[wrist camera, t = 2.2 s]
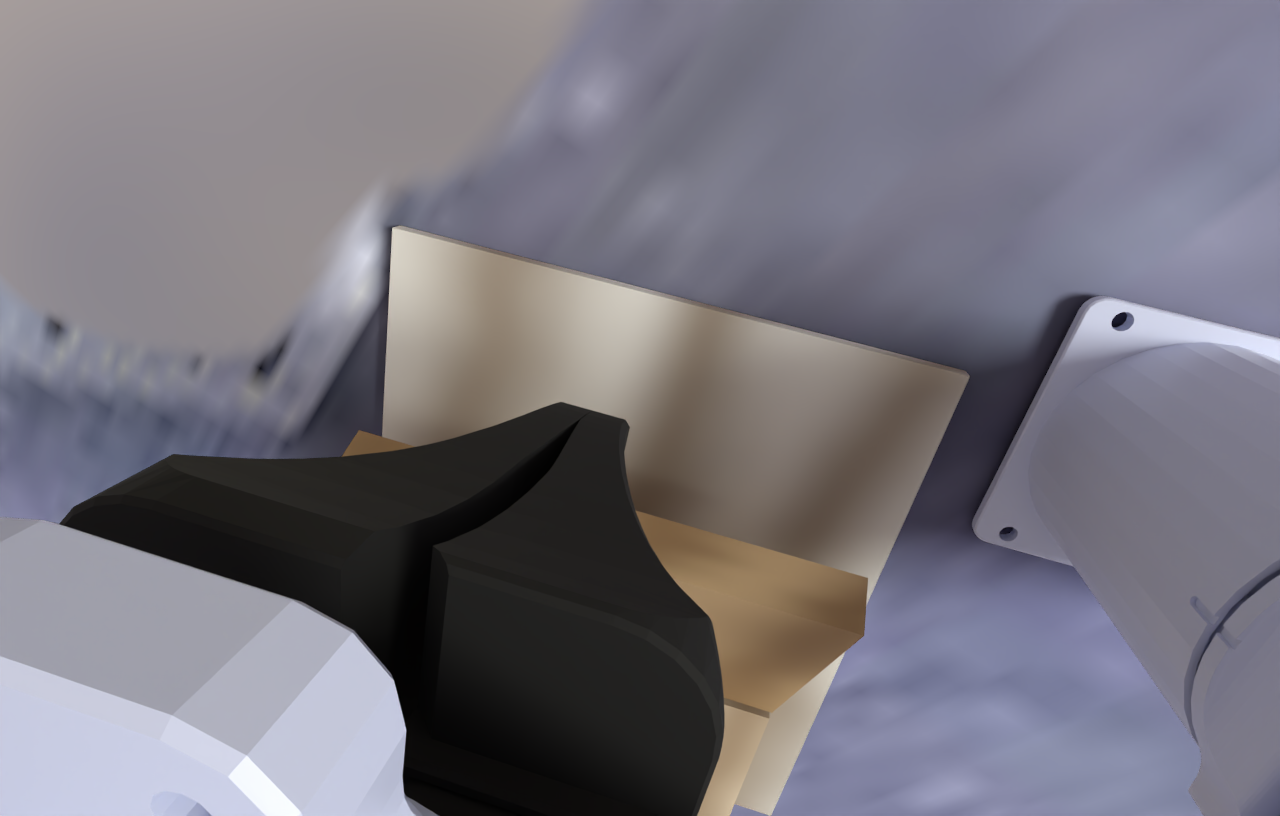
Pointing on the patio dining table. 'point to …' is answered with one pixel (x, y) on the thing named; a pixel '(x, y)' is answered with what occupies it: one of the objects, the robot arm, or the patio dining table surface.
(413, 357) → the floor section
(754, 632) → the plank
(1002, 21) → the patio dining table surface
